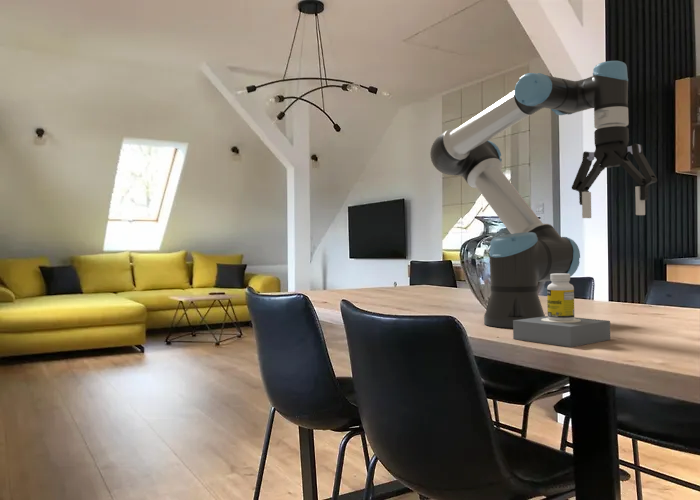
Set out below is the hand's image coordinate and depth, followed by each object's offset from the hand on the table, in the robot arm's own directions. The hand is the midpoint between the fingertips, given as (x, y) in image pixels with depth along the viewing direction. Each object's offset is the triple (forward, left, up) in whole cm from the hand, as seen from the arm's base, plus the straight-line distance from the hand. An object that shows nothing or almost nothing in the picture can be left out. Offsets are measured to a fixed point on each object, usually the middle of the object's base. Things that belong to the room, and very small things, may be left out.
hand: (612, 216), depth 141 cm
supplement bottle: (+2, -24, -23) cm, 33 cm away
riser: (+2, -24, -27) cm, 36 cm away
